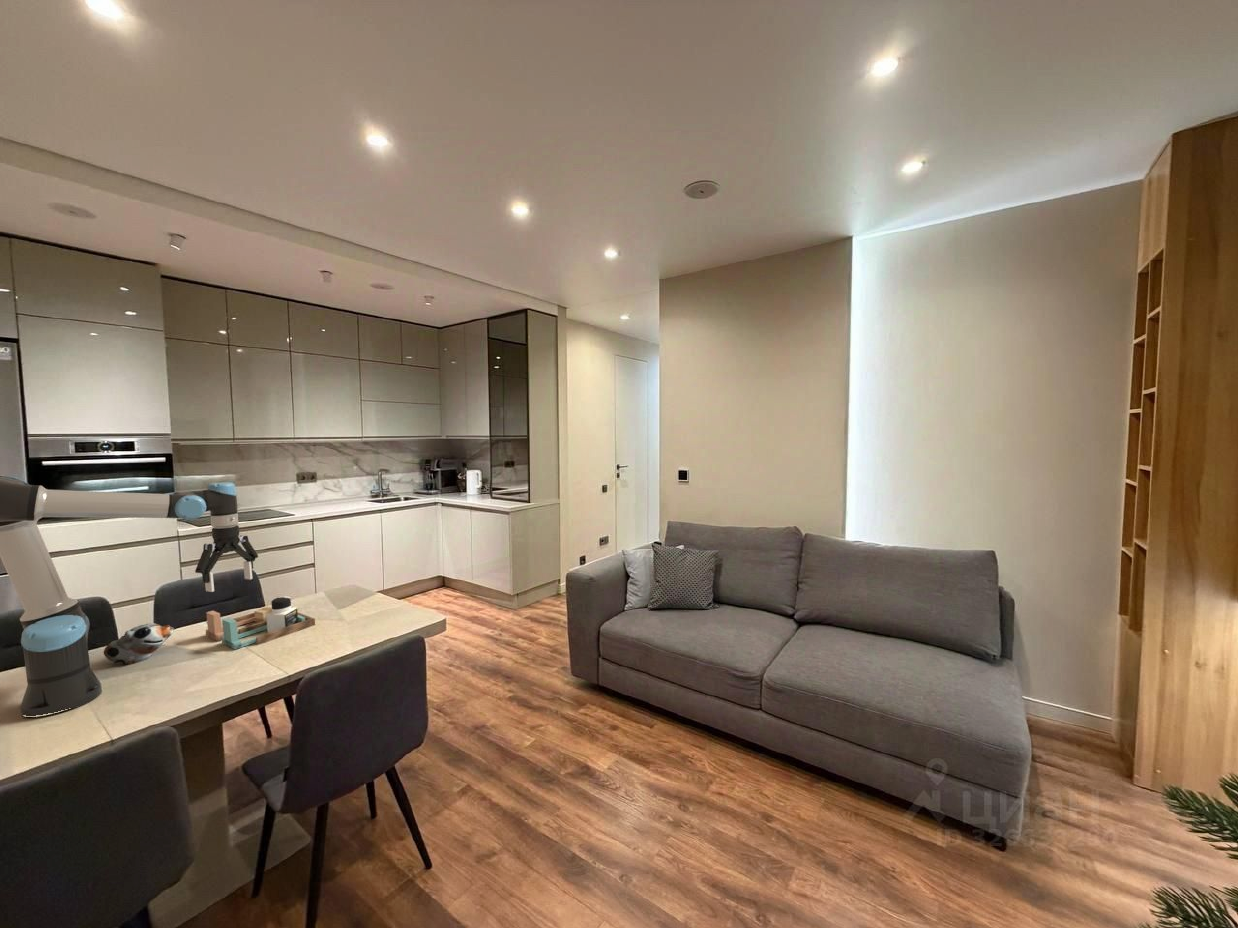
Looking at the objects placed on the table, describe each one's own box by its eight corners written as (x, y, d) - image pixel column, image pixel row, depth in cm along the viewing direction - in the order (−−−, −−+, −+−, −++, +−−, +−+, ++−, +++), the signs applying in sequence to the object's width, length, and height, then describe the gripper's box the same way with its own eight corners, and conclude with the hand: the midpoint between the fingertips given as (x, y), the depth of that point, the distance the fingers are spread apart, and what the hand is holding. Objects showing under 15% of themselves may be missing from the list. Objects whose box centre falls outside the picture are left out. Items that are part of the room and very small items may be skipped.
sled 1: (218, 640, 176) (215, 616, 175) (206, 634, 181) (203, 611, 180) (288, 618, 195) (286, 596, 194) (275, 613, 200) (273, 592, 200)
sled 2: (234, 649, 169) (232, 624, 168) (221, 642, 174) (219, 618, 173) (305, 624, 188) (303, 602, 187) (292, 619, 193) (290, 597, 193)
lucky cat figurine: (152, 644, 174) (170, 609, 174) (166, 664, 169) (185, 628, 169) (95, 650, 160) (115, 613, 161) (108, 672, 155) (129, 633, 155)
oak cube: (264, 624, 190) (263, 612, 190) (255, 623, 192) (254, 610, 191) (277, 620, 195) (276, 607, 194) (268, 618, 196) (267, 606, 196)
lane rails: (258, 644, 173) (257, 637, 172) (222, 628, 187) (222, 622, 187) (315, 624, 189) (314, 618, 189) (278, 611, 204) (278, 605, 203)
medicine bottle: (286, 632, 183) (283, 601, 182) (267, 632, 183) (264, 601, 182) (298, 624, 190) (296, 594, 189) (280, 624, 190) (278, 594, 189)
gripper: (195, 534, 160) (200, 597, 162) (266, 519, 184) (270, 574, 186) (178, 533, 162) (183, 596, 163) (251, 519, 186) (255, 573, 188)
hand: (230, 584), depth 175 cm, fingers open, 13 cm apart
